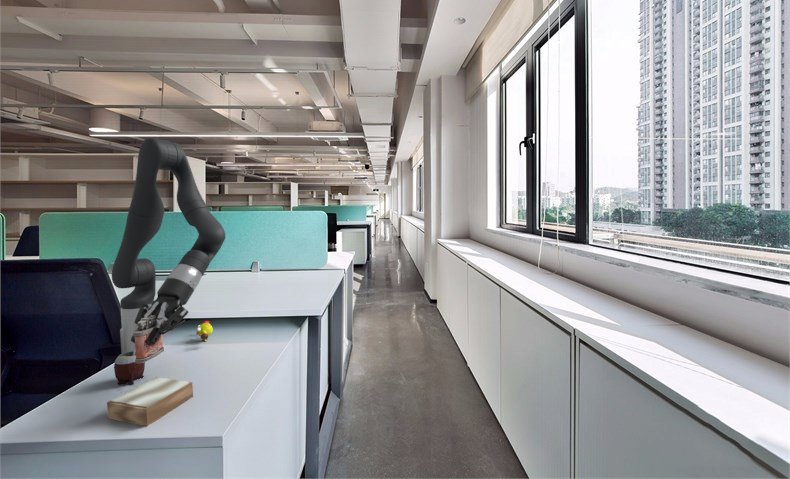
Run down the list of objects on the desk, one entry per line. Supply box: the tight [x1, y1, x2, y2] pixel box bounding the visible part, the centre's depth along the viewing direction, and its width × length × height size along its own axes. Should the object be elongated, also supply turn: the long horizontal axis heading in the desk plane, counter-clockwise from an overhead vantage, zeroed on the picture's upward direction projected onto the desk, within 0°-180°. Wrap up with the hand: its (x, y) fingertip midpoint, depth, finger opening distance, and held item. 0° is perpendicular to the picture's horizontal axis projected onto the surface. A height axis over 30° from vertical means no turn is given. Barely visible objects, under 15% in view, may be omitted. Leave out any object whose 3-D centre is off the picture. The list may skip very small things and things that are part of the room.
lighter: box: [133, 315, 165, 363], centre depth 86 cm, size 8×3×10 cm, turn 0°
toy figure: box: [196, 320, 214, 342], centre depth 131 cm, size 18×6×7 cm, turn 27°
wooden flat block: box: [106, 376, 194, 427], centre depth 87 cm, size 12×13×4 cm
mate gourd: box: [113, 343, 146, 386], centre depth 100 cm, size 8×8×15 cm
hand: (141, 343), depth 84 cm, fingers closed on lighter, 4 cm apart
